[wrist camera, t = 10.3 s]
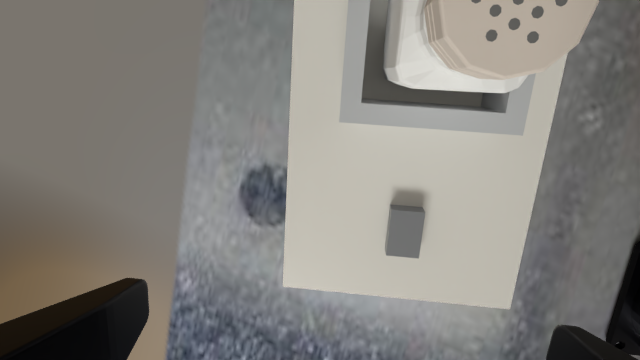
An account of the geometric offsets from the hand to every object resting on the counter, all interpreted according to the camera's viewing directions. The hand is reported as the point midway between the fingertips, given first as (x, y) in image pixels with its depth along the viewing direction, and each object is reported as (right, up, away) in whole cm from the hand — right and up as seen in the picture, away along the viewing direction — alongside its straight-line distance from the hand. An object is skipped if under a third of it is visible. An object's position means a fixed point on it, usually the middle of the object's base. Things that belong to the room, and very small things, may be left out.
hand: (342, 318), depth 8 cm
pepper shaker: (+4, +9, +9) cm, 13 cm away
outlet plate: (+4, +6, +11) cm, 13 cm away
